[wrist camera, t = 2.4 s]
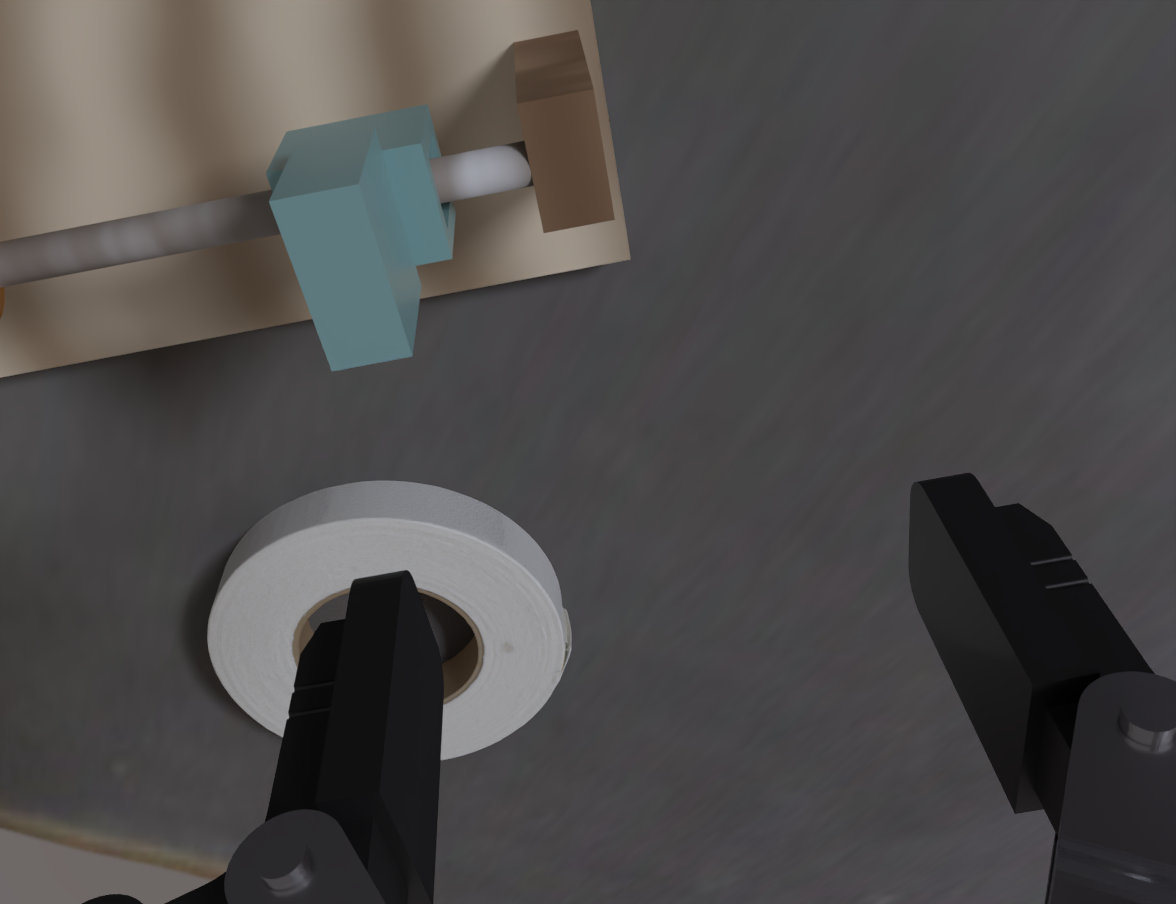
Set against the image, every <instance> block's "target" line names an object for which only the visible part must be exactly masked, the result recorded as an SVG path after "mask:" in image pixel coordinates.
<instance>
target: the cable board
mask: <svg viewBox="0 0 1176 904" xmlns="http://www.w3.org/2000/svg"><path fill="white" fill-rule="evenodd" d="M425 104H428V107H429V111H430V114H431V118H432V122H433V126H434V130H435V134H436V138H437V141H438V145H439V149H440V153H441V157H437V158H432V159H429V162H430V166H431V169H432V173H433V177H434V181H435V184H436V188H437V192H438V196H439V199H440V203H446V202H452V201H453V203H454V207H455V211H456V217H455V230H454V242H453V255H452V259H450V260H444V261H439V262H434V263H428V264H423V265H418V266H416V269H417V272H418V275H419V279H420V282H421V294H420V299H422V298H427V297H433V296H438V295H443V294H449V293H454V292H459V291H465V290H470V289H475V288H481V287H486V286H491V285H497V284H502V283H507V282H513V281H518V280H523V279H529V278H534V277H539V276H545V275H550V274H555V273H561V272H566V271H571V270H577V269H582V268H587V267H593V266H598V265H603V264H609V263H614V262H619V261H625V260H630V259H631V258H630V251H629V245H628V239H627V232H626V226H625V220H624V213H623V207H622V200H621V194H620V188H619V181H618V175H617V169H616V162H615V156H614V149H613V143H612V137H611V130H610V124H609V118H608V111H607V105H606V98H605V92H604V86H603V79H602V73H601V67H600V60H599V54H598V47H597V41H596V35H595V28H594V22H593V15H592V9H591V3H590V0H0V378H1V377H6V376H11V375H17V374H22V373H27V372H33V371H38V370H43V369H49V368H54V367H59V366H65V365H70V364H75V363H81V362H86V361H91V360H97V359H102V358H107V357H113V356H118V355H123V354H129V353H134V352H139V351H145V350H150V349H155V348H161V347H166V346H171V345H177V344H182V343H187V342H193V341H198V340H203V339H209V338H214V337H219V336H225V335H230V334H235V333H241V332H246V331H251V330H257V329H262V328H267V327H273V326H278V325H283V324H289V323H294V322H299V321H305V320H310V319H312V316H311V314H310V311H309V308H308V306H307V303H306V300H305V298H304V295H303V292H302V290H301V287H300V284H299V281H298V279H297V276H296V273H295V271H294V268H293V265H292V263H291V260H290V257H289V255H288V252H287V249H286V246H285V244H284V241H283V238H282V236H281V233H280V230H279V228H278V225H277V222H276V220H275V217H274V214H273V211H272V209H271V206H270V203H269V200H270V198H271V196H272V193H273V192H272V190H271V187H270V184H269V182H268V179H267V176H266V171H267V169H268V167H269V165H270V163H271V161H272V159H273V157H274V155H275V153H276V151H277V149H278V147H279V145H280V143H281V141H282V139H283V137H284V135H285V133H286V132H287V131H292V130H297V129H302V128H307V127H312V126H317V125H323V124H328V123H333V122H338V121H343V120H348V119H353V118H359V117H364V116H369V115H374V114H379V113H384V112H389V111H394V110H400V109H405V108H410V107H415V106H420V105H425Z"/></svg>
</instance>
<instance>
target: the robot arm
mask: <svg viewBox="0 0 1176 904" xmlns="http://www.w3.org/2000/svg"><path fill="white" fill-rule="evenodd" d="M909 577H910V583H911V588H912V592H913V596H914V600H915V603H916V606H917V608H918V611H919V613H920V615H921V617H922V619H923V621H924V623H925V626H926V628H927V630H928V632H929V634H930V636H931V638H932V640H933V642H934V644H935V647H936V649H937V651H938V653H939V655H940V657H941V659H942V661H943V663H944V665H945V668H946V670H947V672H948V674H949V676H950V678H951V680H952V682H953V684H954V686H955V689H956V691H957V693H958V695H959V697H960V699H961V701H962V703H963V705H964V707H965V710H966V712H967V714H968V716H969V718H970V720H971V722H972V724H973V726H974V728H975V731H976V733H977V735H978V737H979V739H980V741H981V743H982V745H983V747H984V749H985V752H986V754H987V756H988V758H989V760H990V762H991V764H992V766H993V768H994V771H995V773H996V775H997V777H998V779H999V781H1000V783H1001V785H1002V787H1003V789H1004V792H1005V794H1006V796H1007V798H1008V800H1009V802H1010V804H1011V806H1012V808H1013V810H1014V813H1015V814H1017V813H1023V812H1029V811H1035V810H1041V809H1044V810H1045V812H1046V814H1047V816H1048V818H1049V820H1050V822H1051V824H1052V826H1053V828H1054V830H1055V838H1054V843H1053V849H1052V856H1051V863H1050V870H1049V877H1048V883H1047V890H1046V897H1045V904H1176V681H1173V680H1171V679H1168V678H1165V677H1162V676H1159V675H1155V673H1154V672H1153V671H1152V670H1151V668H1150V667H1149V666H1148V664H1147V663H1146V661H1145V660H1144V658H1143V657H1142V656H1141V654H1140V653H1139V651H1138V650H1137V648H1136V647H1135V645H1134V644H1133V643H1132V641H1131V640H1130V638H1129V637H1128V635H1127V634H1126V632H1125V631H1124V629H1123V628H1122V627H1121V625H1120V624H1119V622H1118V621H1117V619H1116V618H1115V616H1114V615H1113V614H1112V612H1111V611H1110V609H1109V608H1108V606H1107V605H1106V603H1105V602H1104V601H1103V599H1102V598H1101V596H1100V595H1099V593H1098V592H1097V590H1096V589H1095V588H1094V586H1093V585H1092V584H1089V583H1088V577H1087V576H1086V575H1085V573H1084V572H1083V570H1082V569H1081V567H1080V566H1079V564H1078V563H1077V562H1076V560H1073V559H1072V554H1071V553H1070V551H1069V550H1068V548H1067V547H1066V546H1065V544H1064V543H1063V541H1062V540H1061V538H1060V537H1059V535H1058V534H1057V533H1056V531H1055V530H1054V528H1053V527H1052V526H1051V525H1050V524H1048V523H1047V522H1046V521H1044V520H1043V519H1041V518H1040V517H1038V516H1037V515H1035V514H1034V513H1032V512H1031V511H1029V510H1028V509H1026V508H1025V507H1023V506H1022V505H1020V504H1019V503H1017V504H1012V505H1006V506H1000V507H994V505H993V503H992V502H991V500H990V499H989V497H988V496H987V494H986V492H985V491H984V489H983V488H982V486H981V485H980V483H979V481H978V480H977V479H976V477H975V476H974V475H973V474H971V473H965V474H959V475H953V476H947V477H942V478H936V479H930V480H925V481H919V482H915V483H913V485H912V487H911V494H910V527H909ZM443 702H444V677H443V668H442V662H441V657H440V652H439V648H438V645H437V642H436V639H435V637H434V634H433V631H432V628H431V626H430V623H429V620H428V617H427V615H426V612H425V609H424V606H423V604H422V601H421V598H420V595H419V593H418V590H417V587H416V584H415V582H414V579H413V577H412V575H411V573H410V572H409V571H408V570H403V571H398V572H392V573H386V574H380V575H375V576H369V577H363V578H358V579H354V580H353V582H352V584H351V588H350V594H349V600H348V606H347V612H346V618H345V619H342V620H336V621H331V622H325V623H321V624H320V625H319V627H318V628H317V630H316V631H315V633H314V634H313V636H312V637H311V639H310V640H309V642H308V643H307V645H306V646H305V648H304V649H303V651H302V652H301V654H300V658H299V662H298V667H297V672H296V677H295V682H294V692H293V693H292V696H291V701H290V706H289V711H288V714H289V719H287V720H286V725H285V730H284V735H283V740H282V744H281V749H280V754H279V759H278V764H277V769H276V773H275V778H274V783H273V788H272V793H271V798H270V802H269V807H268V812H267V816H266V819H265V823H263V824H262V825H260V826H259V827H258V828H256V829H255V830H254V831H253V832H252V833H250V834H249V835H248V836H247V837H246V838H245V840H244V841H243V842H242V843H241V844H240V845H239V847H238V848H237V850H236V851H235V853H234V854H233V856H232V858H231V860H230V862H229V865H228V868H227V871H226V872H225V873H224V874H222V875H221V876H219V877H218V878H216V879H215V880H213V881H211V882H209V883H207V884H205V885H203V886H201V887H199V888H197V889H195V890H193V891H191V892H188V893H186V894H184V895H182V896H180V897H178V898H176V899H174V900H171V901H169V902H167V903H165V904H433V896H434V876H435V857H436V837H437V818H438V799H439V779H440V760H441V740H442V721H443ZM82 904H142V903H141V902H140V901H139V900H137V899H135V898H133V897H131V896H127V895H121V894H116V895H115V894H113V895H105V896H100V897H97V898H94V899H91V900H88V901H86V902H85V903H82Z"/></svg>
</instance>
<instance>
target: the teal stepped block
mask: <svg viewBox="0 0 1176 904" xmlns="http://www.w3.org/2000/svg"><path fill="white" fill-rule="evenodd" d="M437 157H441V153H440V149H439V145H438V141H437V138H436V134H435V130H434V126H433V122H432V118H431V114H430V111H429V107H428V104H425V105H420V106H415V107H410V108H405V109H400V110H394V111H389V112H384V113H379V114H374V115H369V116H364V117H359V118H353V119H348V120H343V121H338V122H333V123H328V124H323V125H317V126H312V127H307V128H302V129H297V130H292V131H287V132H286V133H285V135H284V137H283V139H282V141H281V143H280V145H279V147H278V149H277V151H276V153H275V155H274V157H273V159H272V161H271V163H270V165H269V167H268V169H267V171H266V176H267V179H268V182H269V184H270V187H271V190H272V192H273V193H272V196H271V198H270V200H269V203H270V206H271V209H272V211H273V214H274V217H275V220H276V222H277V225H278V228H279V230H280V233H281V236H282V238H283V241H284V244H285V246H286V249H287V252H288V255H289V257H290V260H291V263H292V265H293V268H294V271H295V273H296V276H297V279H298V281H299V284H300V287H301V290H302V292H303V295H304V298H305V300H306V303H307V306H308V308H309V311H310V314H311V316H312V319H313V322H314V325H315V327H316V330H317V333H318V335H319V338H320V341H321V343H322V346H323V349H324V351H325V354H326V357H327V360H328V362H329V365H330V368H331V370H332V371H337V370H342V369H347V368H353V367H358V366H363V365H369V364H374V363H380V362H385V361H390V360H396V359H401V358H407V357H412V356H413V348H414V340H415V333H416V325H417V317H418V309H419V302H420V294H421V282H420V279H419V275H418V272H417V269H416V266H418V265H423V264H428V263H434V262H439V261H444V260H450V259H452V255H453V242H454V230H455V217H456V211H455V207H454V203H453V201H452V202H446V203H440V199H439V196H438V192H437V188H436V184H435V181H434V177H433V173H432V169H431V166H430V162H429V159H432V158H437Z"/></svg>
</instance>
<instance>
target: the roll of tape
mask: <svg viewBox="0 0 1176 904" xmlns="http://www.w3.org/2000/svg"><path fill="white" fill-rule="evenodd" d="M403 570H408V571H409V572H410V573H411V575H412V577H413V579H414V582H415V584H416V587H417V590H418V592H420V593H424V594H426V595H429V596H431V597H434V598H436V599H439V600H440V601H442V602H444V603H445V604H447V605H449V606H451V607H452V608H453V609H454V610H455V611H457V612H458V613H459V614H460V615H461V616H462V617H463V618H464V619H465V620H466V621H467V623H468V624H469V625H470V627H471V628H472V630H473V632H474V636H473V638H472V639H471V641H470V642H469V644H468V645H467V646H466V647H465V648H464V649H463V650H462V651H461V652H460V653H459V654H457V655H456V656H454V657H453V658H451V659H450V660H448V661H446V662H444V663H442V668H443V677H444V702H443V721H442V740H441V760H445V759H450V758H454V757H458V756H462V755H466V754H469V753H472V752H475V751H477V750H480V749H482V748H485V747H487V746H489V745H492V744H494V743H496V742H498V741H500V740H501V739H503V738H504V737H506V736H508V735H509V734H511V733H513V732H514V731H515V730H517V729H518V728H520V727H521V726H523V725H524V724H525V723H527V722H528V721H529V720H530V719H531V718H532V717H533V716H534V715H535V714H536V713H537V712H538V711H539V710H540V709H541V708H542V706H543V705H544V704H545V703H546V701H547V700H548V699H549V697H550V696H551V694H552V692H553V690H554V688H555V687H556V685H557V684H558V682H559V681H560V678H561V676H562V673H563V671H564V668H565V666H566V664H567V661H568V658H569V656H570V652H571V627H570V622H569V618H568V613H567V610H566V609H564V608H562V598H561V592H560V587H559V583H558V580H557V577H556V574H555V572H554V570H553V567H552V565H551V563H550V562H549V560H548V558H547V557H546V555H545V553H544V552H543V551H542V550H541V548H540V547H539V546H538V544H537V543H536V542H535V541H534V540H533V539H532V538H531V537H530V536H529V535H528V534H527V533H526V532H525V531H524V530H523V529H522V528H521V527H520V526H518V525H517V524H516V523H515V522H513V521H512V520H511V519H509V518H508V517H506V516H505V515H503V514H502V513H500V512H499V511H497V510H495V509H494V508H492V507H490V506H488V505H486V504H484V503H482V502H480V501H478V500H476V499H473V498H471V497H468V496H466V495H463V494H460V493H457V492H454V491H451V490H448V489H445V488H441V487H436V486H431V485H426V484H420V483H413V482H402V481H365V482H357V483H350V484H344V485H339V486H334V487H329V488H325V489H322V490H318V491H315V492H312V493H309V494H307V495H304V496H302V497H299V498H297V499H295V500H293V501H291V502H288V503H286V504H284V505H282V506H280V507H279V508H277V509H275V510H274V511H272V512H270V513H269V514H268V515H266V516H265V517H264V518H262V519H261V520H260V521H259V522H257V523H256V524H255V525H254V526H253V527H252V528H251V529H250V530H249V531H248V532H247V533H246V534H245V535H244V537H243V538H242V539H241V540H240V542H239V543H238V544H237V546H236V547H235V549H234V550H233V552H232V554H231V555H230V557H229V559H228V562H227V564H226V566H225V569H224V572H223V575H222V578H221V581H220V584H219V587H218V591H217V594H216V597H215V600H214V603H213V606H212V609H211V612H210V616H209V621H208V631H207V643H208V650H209V655H210V659H211V662H212V665H213V667H214V670H215V672H216V674H217V676H218V678H219V679H220V681H221V683H222V685H223V686H224V688H225V689H226V691H227V692H228V693H229V695H230V696H231V697H232V698H233V700H234V701H235V702H236V703H237V704H238V705H239V706H240V707H241V708H242V709H243V710H244V711H245V712H246V713H247V714H249V715H250V716H251V717H252V718H253V719H254V720H256V721H257V722H258V723H260V724H261V725H263V726H264V727H266V728H267V729H268V730H270V731H272V732H274V733H275V734H277V735H279V736H281V737H283V735H284V730H285V725H286V720H287V719H289V714H288V711H289V706H290V701H291V696H292V693H293V692H294V682H295V677H296V672H297V667H298V662H299V658H300V654H301V652H302V651H303V649H304V648H305V646H306V645H307V643H308V642H309V640H310V639H311V637H312V636H313V634H314V633H313V631H312V629H311V626H310V624H309V620H308V618H309V617H310V616H311V615H312V614H313V613H314V612H315V611H316V610H317V609H318V608H319V607H321V606H322V605H323V604H324V603H326V602H328V601H330V600H331V599H334V598H336V597H338V596H340V595H343V594H346V593H349V592H350V588H351V584H352V582H353V580H354V579H358V578H363V577H369V576H375V575H380V574H386V573H392V572H398V571H403Z"/></svg>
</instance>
